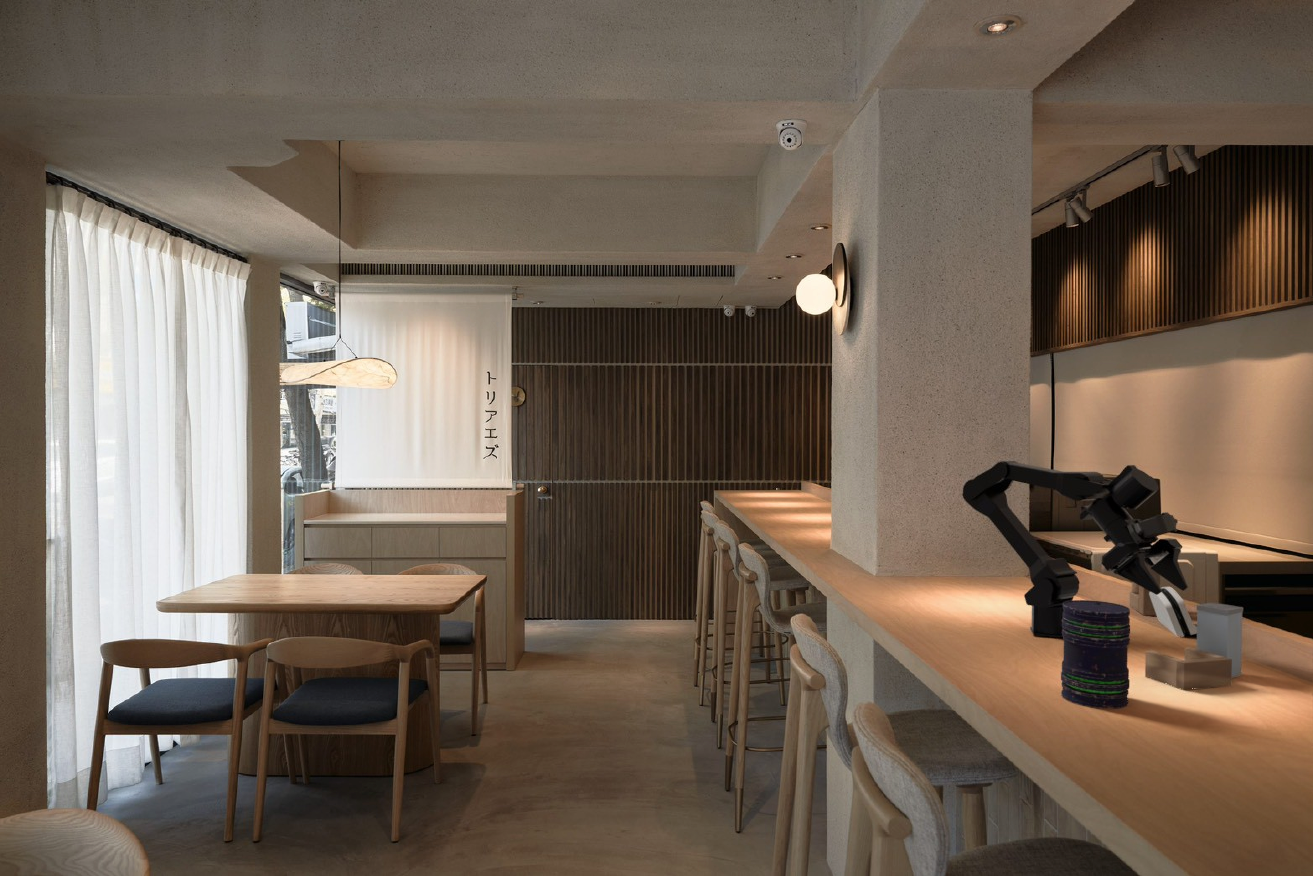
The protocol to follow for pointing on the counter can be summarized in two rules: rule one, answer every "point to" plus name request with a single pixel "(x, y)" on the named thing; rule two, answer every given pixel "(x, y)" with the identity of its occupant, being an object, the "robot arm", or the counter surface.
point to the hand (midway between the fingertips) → (1172, 591)
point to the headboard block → (1189, 669)
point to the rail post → (1221, 632)
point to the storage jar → (1095, 654)
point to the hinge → (1172, 612)
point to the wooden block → (1143, 596)
